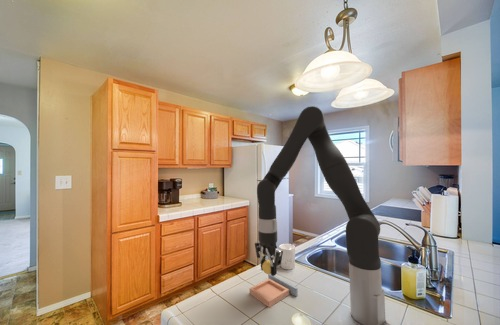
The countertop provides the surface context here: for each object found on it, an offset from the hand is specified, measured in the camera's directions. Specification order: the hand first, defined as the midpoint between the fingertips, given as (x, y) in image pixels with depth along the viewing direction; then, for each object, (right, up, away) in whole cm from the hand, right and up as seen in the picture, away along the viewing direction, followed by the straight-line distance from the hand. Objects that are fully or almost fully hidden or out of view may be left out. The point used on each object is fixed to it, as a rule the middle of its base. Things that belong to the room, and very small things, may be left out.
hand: (268, 272), depth 82 cm
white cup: (+12, -9, +22) cm, 26 cm away
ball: (0, +2, 0) cm, 2 cm away
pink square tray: (0, -8, 0) cm, 8 cm away
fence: (+6, -8, +4) cm, 11 cm away
